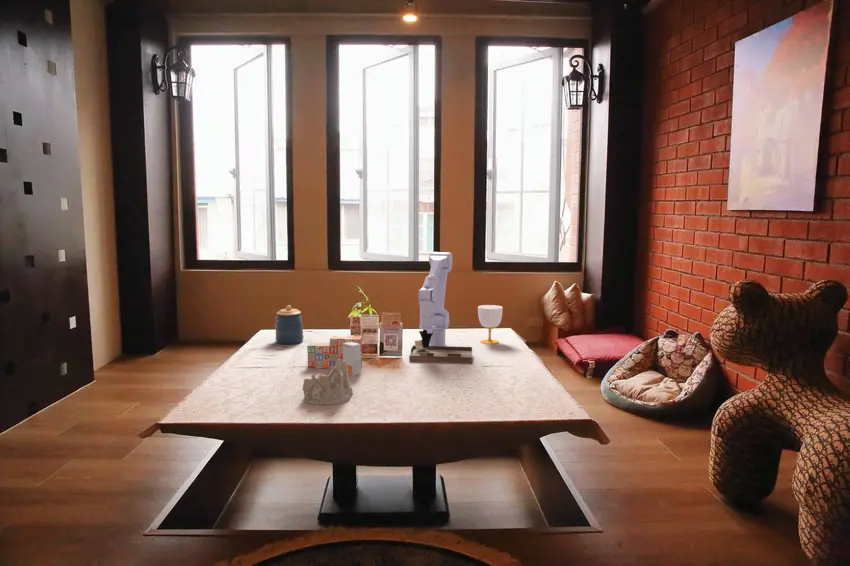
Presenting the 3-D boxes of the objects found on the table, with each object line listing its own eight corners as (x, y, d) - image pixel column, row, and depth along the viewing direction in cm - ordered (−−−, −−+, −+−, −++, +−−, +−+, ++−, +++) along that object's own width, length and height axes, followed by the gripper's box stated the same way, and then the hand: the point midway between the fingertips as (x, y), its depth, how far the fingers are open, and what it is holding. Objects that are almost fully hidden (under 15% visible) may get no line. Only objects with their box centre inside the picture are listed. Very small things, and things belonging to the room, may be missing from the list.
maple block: (422, 349, 265) (421, 340, 266) (428, 348, 263) (427, 339, 263) (415, 350, 262) (414, 341, 263) (422, 349, 260) (421, 340, 260)
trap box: (412, 354, 267) (412, 345, 266) (471, 355, 264) (472, 346, 264) (409, 361, 255) (409, 352, 254) (471, 363, 253) (471, 353, 252)
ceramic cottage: (358, 391, 214) (354, 350, 212) (342, 408, 198) (338, 364, 196) (316, 391, 217) (312, 350, 215) (298, 408, 202) (293, 364, 199)
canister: (294, 337, 299) (293, 302, 296) (308, 342, 289) (307, 305, 287) (270, 341, 290) (269, 305, 288) (284, 346, 281) (283, 308, 278)
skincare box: (342, 373, 237) (342, 343, 236) (351, 371, 240) (350, 341, 239) (353, 376, 233) (352, 345, 231) (361, 374, 236) (361, 343, 235)
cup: (477, 338, 297) (478, 304, 295) (502, 339, 296) (502, 305, 294) (476, 344, 286) (477, 308, 284) (501, 345, 284) (502, 309, 282)
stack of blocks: (307, 368, 244) (306, 338, 243) (310, 364, 251) (310, 334, 249) (360, 368, 244) (360, 338, 242) (362, 364, 250) (362, 335, 248)
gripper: (439, 318, 253) (438, 350, 254) (431, 313, 268) (431, 344, 269) (423, 318, 252) (422, 350, 253) (416, 314, 266) (415, 344, 267)
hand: (425, 347), depth 261 cm, fingers closed, pressing on maple block
